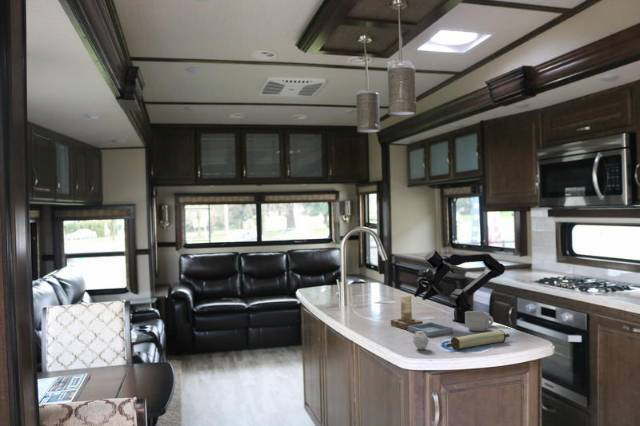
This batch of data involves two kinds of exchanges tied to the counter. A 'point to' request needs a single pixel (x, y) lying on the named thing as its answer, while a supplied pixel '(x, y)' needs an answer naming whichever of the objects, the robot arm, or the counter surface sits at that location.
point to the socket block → (404, 325)
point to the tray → (430, 329)
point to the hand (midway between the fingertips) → (418, 298)
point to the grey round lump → (420, 340)
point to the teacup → (477, 320)
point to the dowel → (406, 309)
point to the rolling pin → (477, 339)
